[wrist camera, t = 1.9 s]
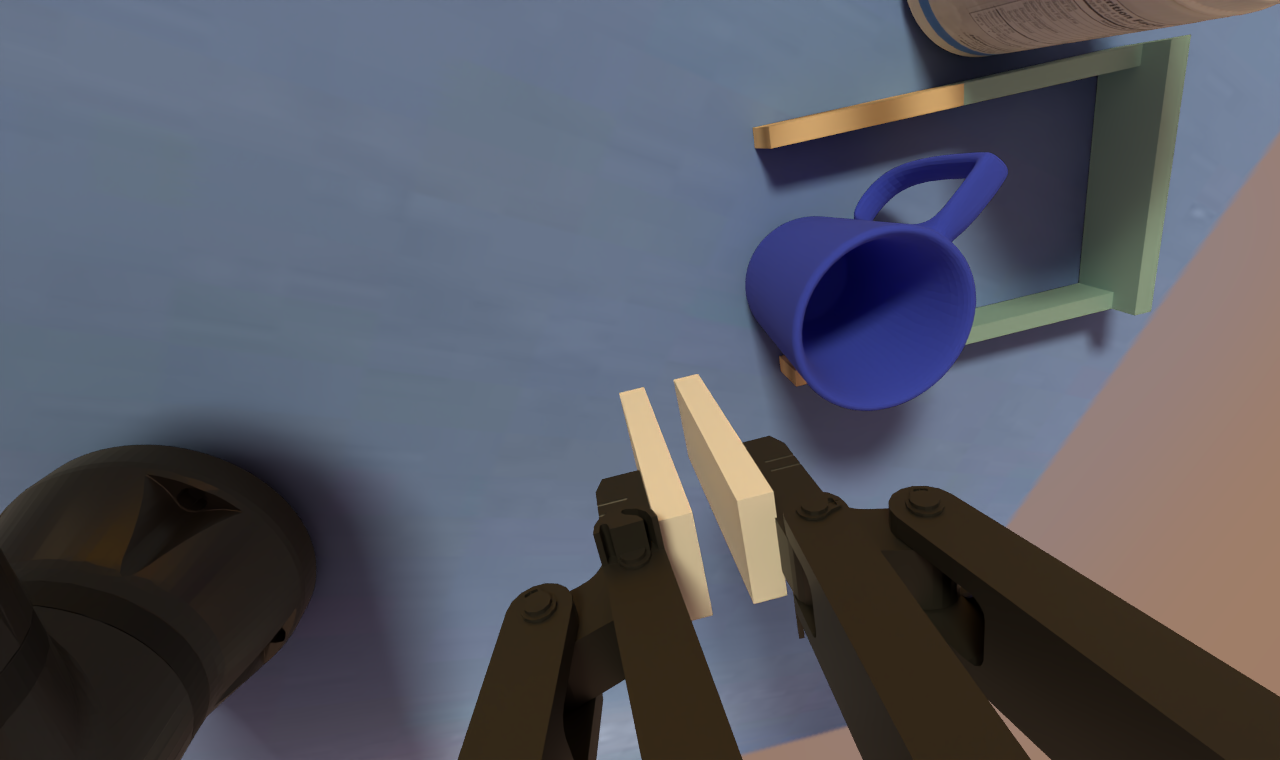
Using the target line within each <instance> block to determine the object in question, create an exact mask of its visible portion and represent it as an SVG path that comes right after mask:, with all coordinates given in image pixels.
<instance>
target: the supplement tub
mask: <svg viewBox="0 0 1280 760" xmlns="http://www.w3.org/2000/svg"><path fill="white" fill-rule="evenodd" d="M907 2H908V4H909V7H910V10H911V12H912V15H913V16H914V18H915V20H916V22H917V24H918V25H919V26H920V28H921V29H922V31H923V32H924V33H925V34H926V35H927V36H928V37H929V38H930V39H931V40H932V41H933V42H934V43H935V44H937V45H938V46H940V47H941V48H943V49H945V50H947V51H949V52H951V53H954V54H957V55H961V56H967V57H985V56H991V55H998V54H1005V53H1011V52H1017V51H1023V50H1029V49H1036V48H1042V47H1048V46H1054V45H1060V44H1066V43H1073V42H1079V41H1085V40H1091V39H1097V38H1104V37H1110V36H1116V35H1122V34H1128V33H1134V32H1140V31H1146V30H1153V29H1159V28H1165V27H1171V26H1178V25H1184V24H1190V23H1196V22H1201V21H1206V20H1212V19H1218V18H1224V17H1230V16H1235V15H1243V14H1247V13H1252V12H1255V11H1259V10H1263V9H1265V8H1268V7H1271V6H1273V5H1276V4H1279V3H1280V0H907Z"/></svg>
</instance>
